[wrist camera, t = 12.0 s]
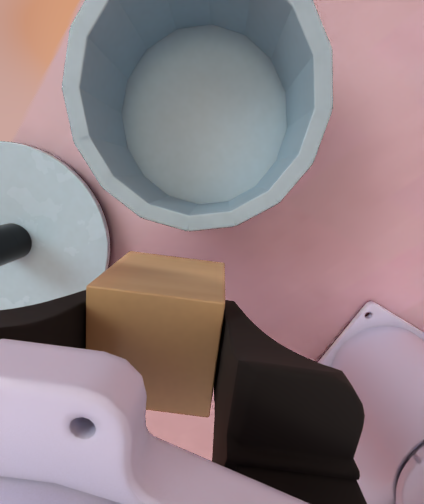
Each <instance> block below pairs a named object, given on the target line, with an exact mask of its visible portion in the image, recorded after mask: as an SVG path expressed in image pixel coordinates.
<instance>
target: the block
mask: <svg viewBox="0 0 424 504" xmlns="http://www.w3.org/2000/svg"><path fill="white" fill-rule="evenodd" d="M224 310H225V264H224V263H221V262H213V261H205V260H197V259H189V258H181V257H173V256H165V255H157V254H149V253H141V252H133V251H129V252H128V253H127V254H126V255H124V256H123V257H122V258H121V259H119V260H118V261H117V262H116V263H114V264H113V265H112V266H111V267H109V268H108V269H107V270H106V271H104V272H103V273H102V274H101V275H99V276H98V277H97V278H96V279H94V280H93V281H92V282H91V283H89V284H88V285H87V286H86V349H89V350H97V351H104V352H107V353H110V354H112V355H115V356H118V357H121V358H123V359H126V360H127V361H128V362H129V363H130V364H131V365H132V366H133V367H134V368H135V369H136V370H137V371H138V372H139V373H140V374H141V375H142V378H143V382H144V386H145V390H146V395H147V400H146V410H153V411H161V412H169V413H177V414H185V415H192V416H200V417H209V415H210V408H211V401H212V394H213V387H214V380H215V373H216V366H217V359H218V352H219V345H220V338H221V331H222V324H223V317H224Z"/></svg>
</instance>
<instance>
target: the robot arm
mask: <svg viewBox="0 0 424 504" xmlns="http://www.w3.org/2000/svg"><path fill="white" fill-rule="evenodd" d="M367 312H370V313H369V315H368V316H365V314H366V313H367ZM146 400H147V395H146V390H145V386H144V382H143V378H142V375H141V374H140V373H139V372H138V371H137V370H136V369H135V368H134V367H133V366H132V365H131V364H130V363H129V362H128V361H127V360H126V359H123V358H121V357H118V356H115V355H112V354H110V353H107V352H104V351H97V350H89V349H86V290H83V291H80V292H77V293H74V294H71V295H68V296H64V297H61V298H57V299H54V300H50V301H47V302H43V303H39V304H34V305H29V306H24V307H19V308H13V309H6V310H0V504H424V332H423V331H421V330H419V329H418V328H416V327H415V326H413V325H411V324H410V323H408V322H406V321H405V320H403V319H402V318H400V317H398V316H397V315H395V314H393V313H392V312H390V311H388V310H387V309H385V308H384V307H382V306H380V305H379V304H377V303H375V302H373V301H370V302H367V303H366V304H365V305H364V306H363V307H362V309H361V310H360V311H359V312H358V314H357V315H356V316H355V317H354V318H353V320H352V321H351V322H350V323H349V325H348V326H347V327H346V328H345V329H344V331H343V332H342V333H341V334H340V336H339V337H338V338H337V339H336V340H335V342H334V343H333V344H332V345H331V347H330V348H329V349H328V350H327V351H326V353H325V354H324V355H323V356H322V358H321V359H320V360H319V361H318V363H317V362H315V361H312V360H310V359H308V358H305V357H303V356H301V355H299V354H297V353H295V352H293V351H291V350H289V349H287V348H286V347H284V346H282V345H281V344H279V343H277V342H276V341H274V340H273V339H272V338H270V337H269V336H268V335H266V334H265V333H264V332H262V331H261V330H260V329H259V328H258V327H257V326H256V325H255V324H254V323H253V322H252V321H251V320H250V319H249V318H248V317H247V316H246V315H245V314H244V313H243V311H242V310H241V309H240V308H239V307H238V305H237V304H236V303H235V302H234V301H228V300H225V310H224V317H223V324H222V331H221V338H220V345H219V352H218V359H217V366H216V373H215V380H214V401H215V422H214V440H213V457H212V461H210V460H208V459H205V458H203V457H201V456H198V455H196V454H194V453H191V452H189V451H187V450H185V449H182V448H180V447H178V446H175V445H173V444H171V443H168V442H166V441H164V440H162V439H159V438H157V437H155V436H153V435H152V434H151V433H150V432H149V431H148V429H147V427H146V420H145V413H146Z"/></svg>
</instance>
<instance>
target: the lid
mask: <svg viewBox="0 0 424 504" xmlns="http://www.w3.org/2000/svg"><path fill="white" fill-rule="evenodd" d="M109 258H110V238H109V231H108V226H107V223H106V219H105V216H104V214H103V211H102V209H101V206H100V204H99V203H98V201H97V199H96V197H95V195H94V194H93V192H92V191H91V190H90V188H89V187H88V185H87V184H86V183H85V182H84V181H83V180H82V178H81V177H80V176H79V175H78V174H77V173H76V172H75V171H74V170H72V169H71V168H70V167H69V166H68V165H67V164H65V163H64V162H62V161H61V160H59V159H58V158H56V157H55V156H53V155H51V154H49V153H47V152H45V151H43V150H40V149H38V148H35V147H32V146H29V145H25V144H20V143H15V142H5V141H0V310H6V309H13V308H19V307H24V306H29V305H34V304H39V303H43V302H47V301H50V300H54V299H57V298H61V297H64V296H68V295H71V294H74V293H77V292H80V291H83V290H86V286H87V285H88V284H89V283H91V282H92V281H93V280H94V279H96V278H97V277H98V276H99V275H101V274H102V273H103V272H104V271H106V270H107V269H108V265H109Z"/></svg>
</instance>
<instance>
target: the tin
mask: <svg viewBox="0 0 424 504" xmlns="http://www.w3.org/2000/svg"><path fill="white" fill-rule="evenodd" d="M62 86H63V87H62V90H63V95H64V100H65V104H66V109H67V113H68V118H69V123H70V127H71V132H72V136H73V141H74V144H75V145H76V147H77V148H78V150H79V152H80V153H81V155H82V156H83V158H84V160H85V161H86V163H87V164H88V166H89V168H90V169H91V171H92V172H93V174H94V176H95V177H96V179H97V180H98V182H99V184H100V185H101V187H103V189H104V190H106V191H107V192H108V193H109V194H111V195H112V196H113V197H115V198H116V199H117V200H119V201H120V202H121V203H122V204H124V205H125V206H126V207H128V208H129V209H130V210H132V211H133V212H134V213H135V214H137V215H138V216H139V217H141V218H143V219H146V220H150V221H153V222H156V223H160V224H163V225H167V226H170V227H174V228H177V229H181V230H184V231H199V230H208V229H218V228H227V227H234V226H237V225H239V224H241V223H243V222H245V221H247V220H249V219H251V218H252V217H254V216H256V215H258V214H260V213H262V212H264V211H266V210H267V209H269V208H271V207H273V206H275V205H277V204H278V203H280V202H281V201H282V199H283V198H284V197H285V196H286V195H287V193H288V192H289V191H290V190H291V189H292V188H293V186H294V185H295V184H296V183H297V182H298V181H299V179H300V178H301V177H302V176H303V175H304V174H305V172H306V171H307V170H308V169H309V168H310V167H311V165H312V164H313V162H314V160H315V157H316V154H317V151H318V149H319V146H320V143H321V140H322V138H323V135H324V132H325V129H326V127H327V124H328V121H329V118H330V116H331V113H332V109H333V67H332V47H331V45H330V42H329V40H328V37H327V35H326V32H325V30H324V27H323V25H322V22H321V20H320V17H319V15H318V12H317V10H316V7H315V5H314V2H313V0H85V1H84V3H83V5H82V7H81V9H80V10H79V12H78V14H77V16H76V17H75V19H74V21H73V23H72V25H71V28H70V31H69V38H68V45H67V53H66V60H65V67H64V74H63V82H62Z"/></svg>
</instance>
